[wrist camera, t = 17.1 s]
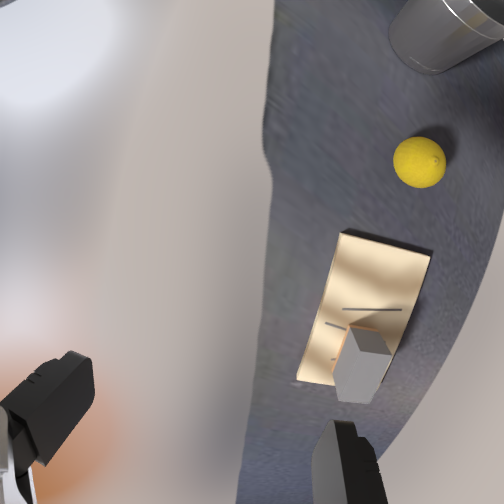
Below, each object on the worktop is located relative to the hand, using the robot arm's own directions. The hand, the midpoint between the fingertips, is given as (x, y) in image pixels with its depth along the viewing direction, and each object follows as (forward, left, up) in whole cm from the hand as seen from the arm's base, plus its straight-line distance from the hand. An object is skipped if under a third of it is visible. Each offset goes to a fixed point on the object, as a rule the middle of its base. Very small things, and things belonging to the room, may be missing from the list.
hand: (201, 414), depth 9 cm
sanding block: (+11, +15, -27) cm, 33 cm away
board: (+7, +15, -28) cm, 33 cm away
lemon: (-13, +15, -28) cm, 35 cm away
